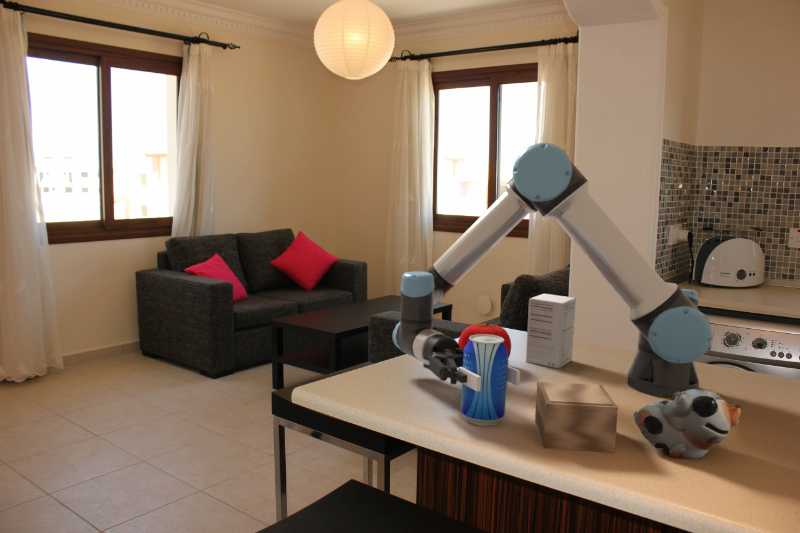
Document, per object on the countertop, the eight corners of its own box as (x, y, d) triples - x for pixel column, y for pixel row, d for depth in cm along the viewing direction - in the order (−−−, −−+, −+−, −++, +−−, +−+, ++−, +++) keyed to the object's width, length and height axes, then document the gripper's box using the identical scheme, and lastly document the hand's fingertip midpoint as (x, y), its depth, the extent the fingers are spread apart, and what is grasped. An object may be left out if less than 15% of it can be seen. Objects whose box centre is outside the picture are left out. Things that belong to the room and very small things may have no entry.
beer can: (503, 429, 115) (508, 345, 113) (458, 424, 117) (462, 341, 115) (505, 413, 123) (509, 335, 121) (463, 409, 125) (466, 331, 123)
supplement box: (539, 354, 167) (543, 292, 165) (572, 360, 162) (577, 297, 160) (524, 362, 160) (528, 297, 158) (559, 369, 154) (563, 302, 152)
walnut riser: (598, 425, 118) (601, 383, 117) (614, 452, 106) (618, 406, 105) (534, 421, 119) (537, 380, 118) (543, 448, 107) (546, 402, 106)
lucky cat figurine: (685, 428, 118) (730, 374, 112) (718, 479, 108) (770, 423, 101) (620, 410, 114) (662, 354, 108) (648, 462, 104) (697, 402, 97)
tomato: (499, 376, 147) (501, 331, 146) (450, 367, 154) (451, 323, 152) (517, 364, 157) (520, 322, 156) (470, 356, 164) (472, 315, 162)
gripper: (476, 361, 140) (542, 393, 120) (393, 372, 131) (449, 408, 110) (478, 329, 139) (544, 355, 119) (394, 337, 129) (451, 367, 109)
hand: (498, 381), depth 115 cm, fingers closed on beer can, 8 cm apart
